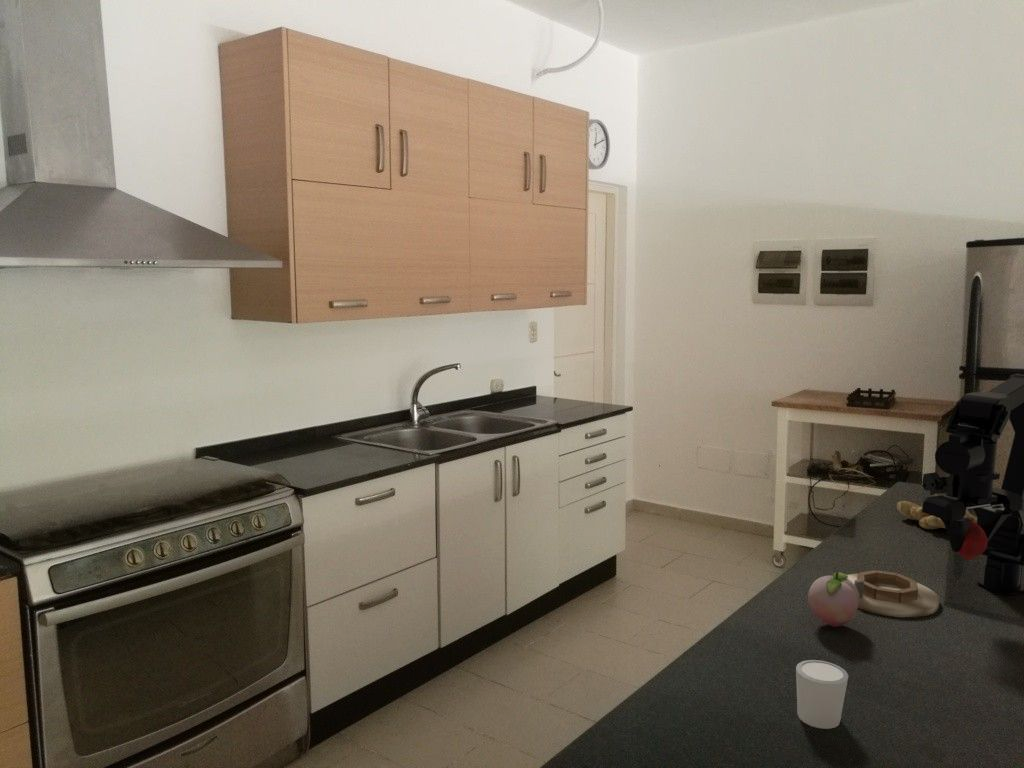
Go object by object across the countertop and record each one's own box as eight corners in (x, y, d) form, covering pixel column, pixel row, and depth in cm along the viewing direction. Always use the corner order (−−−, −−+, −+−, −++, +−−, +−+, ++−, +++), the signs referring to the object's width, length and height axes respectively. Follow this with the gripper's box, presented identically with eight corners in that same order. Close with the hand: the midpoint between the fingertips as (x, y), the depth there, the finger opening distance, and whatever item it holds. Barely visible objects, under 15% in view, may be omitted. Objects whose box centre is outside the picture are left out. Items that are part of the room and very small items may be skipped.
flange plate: (884, 573, 170) (885, 554, 169) (961, 608, 153) (963, 586, 153) (814, 586, 163) (816, 566, 162) (887, 624, 146) (889, 601, 146)
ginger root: (995, 532, 192) (989, 499, 191) (926, 547, 193) (920, 514, 192) (960, 514, 208) (955, 483, 207) (897, 528, 208) (891, 497, 207)
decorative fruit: (809, 611, 151) (813, 559, 150) (858, 620, 148) (862, 567, 146) (803, 632, 143) (806, 576, 141) (854, 642, 139) (858, 585, 138)
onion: (990, 567, 147) (994, 524, 146) (954, 564, 148) (958, 521, 147) (978, 556, 153) (983, 514, 152) (944, 553, 154) (948, 511, 153)
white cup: (784, 705, 120) (788, 659, 119) (831, 703, 120) (834, 658, 119) (805, 732, 113) (808, 684, 112) (854, 730, 114) (857, 682, 112)
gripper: (973, 451, 159) (965, 529, 161) (900, 459, 152) (893, 541, 154) (1028, 464, 149) (1019, 548, 151) (953, 474, 141) (945, 562, 144)
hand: (968, 549), depth 150 cm, fingers closed on onion, 6 cm apart
